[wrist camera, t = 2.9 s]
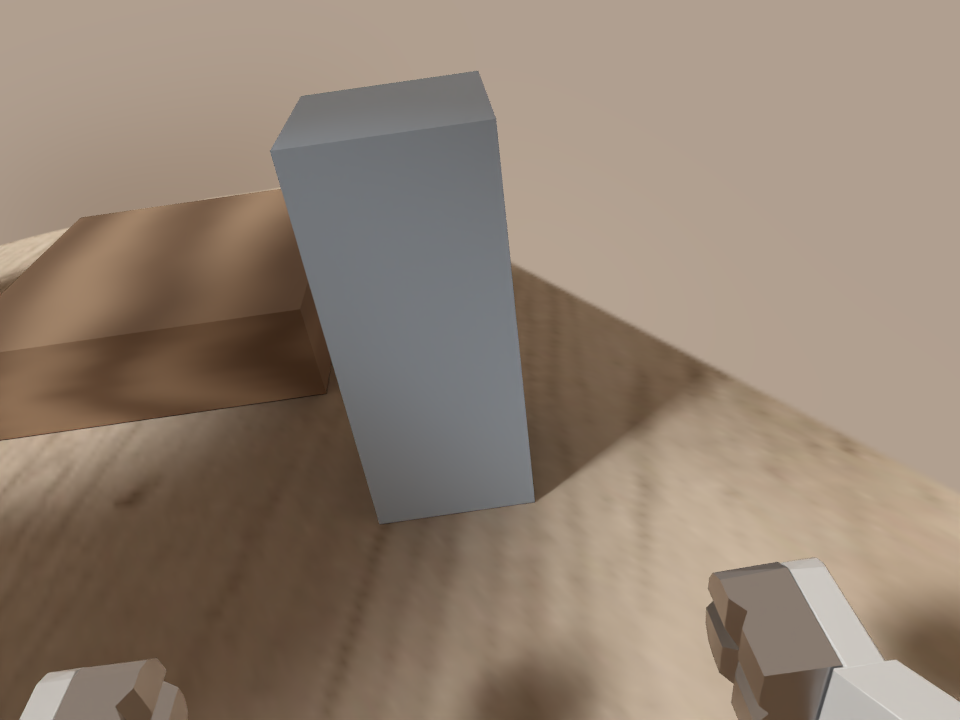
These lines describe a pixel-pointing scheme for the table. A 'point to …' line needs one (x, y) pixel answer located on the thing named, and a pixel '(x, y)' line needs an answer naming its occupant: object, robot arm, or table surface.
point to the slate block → (414, 288)
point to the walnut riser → (160, 318)
